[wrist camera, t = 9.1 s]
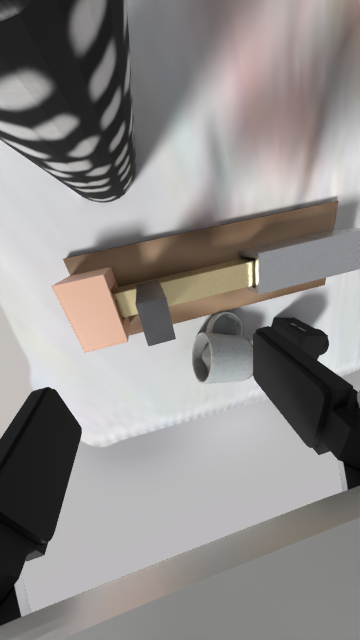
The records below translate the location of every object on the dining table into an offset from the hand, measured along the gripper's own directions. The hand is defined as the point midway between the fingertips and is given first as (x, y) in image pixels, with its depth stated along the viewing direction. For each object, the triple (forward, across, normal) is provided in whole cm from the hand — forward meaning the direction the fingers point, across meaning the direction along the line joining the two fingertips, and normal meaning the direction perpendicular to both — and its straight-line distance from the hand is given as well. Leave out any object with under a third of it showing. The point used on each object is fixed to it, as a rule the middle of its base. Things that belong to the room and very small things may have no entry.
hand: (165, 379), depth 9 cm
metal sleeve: (+18, -20, +1) cm, 27 cm away
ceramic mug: (+19, -9, +12) cm, 25 cm away
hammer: (+17, -5, +1) cm, 18 cm away
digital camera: (+19, -21, +17) cm, 33 cm away
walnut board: (+19, -10, +1) cm, 22 cm away
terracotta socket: (+18, +6, +1) cm, 19 cm away
